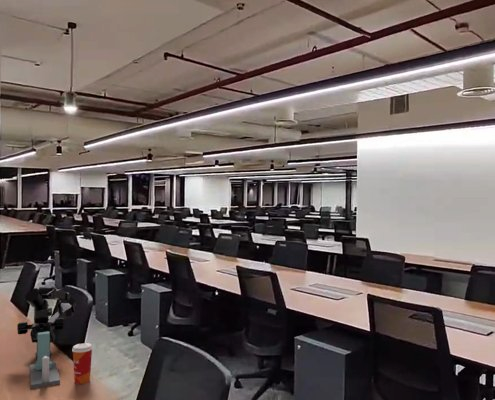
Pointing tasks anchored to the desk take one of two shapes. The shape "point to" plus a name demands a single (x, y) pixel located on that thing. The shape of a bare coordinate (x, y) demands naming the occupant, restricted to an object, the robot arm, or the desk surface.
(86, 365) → the paper cup
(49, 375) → the track
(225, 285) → the desk surface
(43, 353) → the teal upright block
